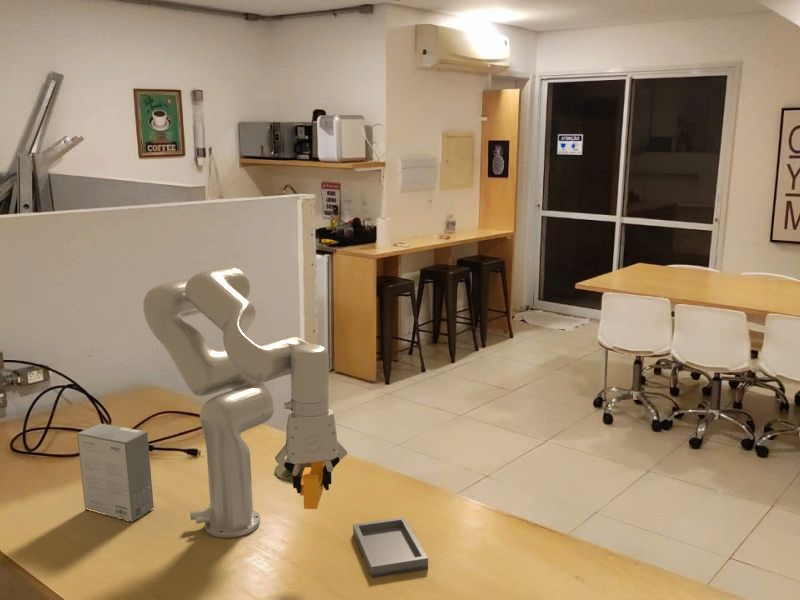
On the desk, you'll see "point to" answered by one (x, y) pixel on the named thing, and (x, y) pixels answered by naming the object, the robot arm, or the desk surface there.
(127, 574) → the desk surface
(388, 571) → the parts tray
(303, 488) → the orange blocky piece
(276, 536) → the desk surface
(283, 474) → the flange
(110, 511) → the hard drive box
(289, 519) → the desk surface
